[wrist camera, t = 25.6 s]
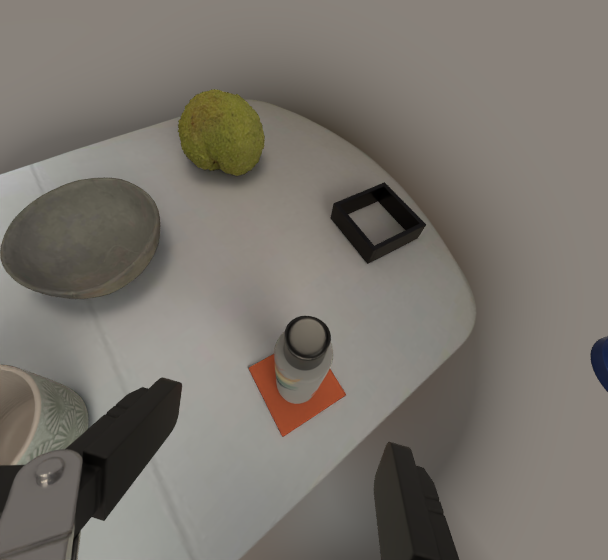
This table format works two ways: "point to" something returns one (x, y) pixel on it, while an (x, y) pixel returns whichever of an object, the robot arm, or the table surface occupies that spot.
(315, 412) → the mat
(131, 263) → the bowl
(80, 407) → the planter
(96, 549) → the table surface
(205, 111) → the fruit
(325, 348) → the lotion bottle
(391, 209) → the holder
